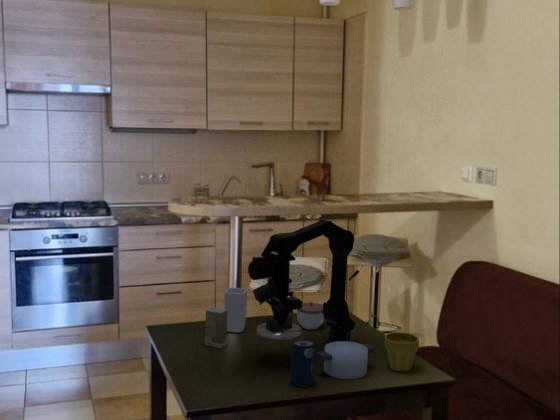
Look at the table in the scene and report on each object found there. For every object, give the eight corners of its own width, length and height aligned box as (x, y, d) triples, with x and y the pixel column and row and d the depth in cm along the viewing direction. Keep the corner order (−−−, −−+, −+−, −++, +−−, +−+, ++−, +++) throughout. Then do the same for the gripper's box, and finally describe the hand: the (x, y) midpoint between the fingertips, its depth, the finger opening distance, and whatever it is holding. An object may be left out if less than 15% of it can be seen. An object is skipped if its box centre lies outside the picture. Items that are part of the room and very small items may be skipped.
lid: (288, 322, 212) (288, 308, 211) (309, 335, 200) (310, 320, 199) (249, 328, 206) (249, 313, 205) (269, 342, 193) (269, 326, 193)
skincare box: (204, 345, 216) (204, 310, 214) (210, 341, 220) (210, 306, 218) (221, 348, 213) (221, 312, 212) (227, 344, 217) (227, 309, 216)
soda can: (317, 386, 184) (318, 346, 183) (293, 388, 183) (294, 347, 181) (311, 377, 191) (312, 338, 190) (288, 378, 190) (289, 339, 188)
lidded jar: (330, 327, 239) (331, 302, 238) (312, 333, 231) (313, 308, 230) (308, 320, 246) (308, 296, 245) (289, 326, 238) (290, 302, 237)
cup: (227, 327, 236) (228, 287, 234) (247, 328, 235) (247, 288, 233) (223, 333, 229) (223, 292, 227) (243, 334, 228) (244, 293, 226)
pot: (358, 359, 207) (359, 337, 206) (383, 373, 196) (384, 350, 195) (307, 368, 198) (308, 346, 197) (330, 383, 187) (331, 360, 186)
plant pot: (397, 376, 194) (398, 344, 192) (376, 364, 203) (378, 334, 201) (424, 370, 198) (426, 340, 197) (403, 359, 207) (404, 330, 206)
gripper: (243, 271, 205) (243, 319, 207) (270, 285, 188) (269, 337, 190) (275, 268, 210) (274, 315, 212) (303, 281, 193) (302, 332, 195)
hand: (279, 324), depth 202 cm, fingers closed on lid, 2 cm apart
